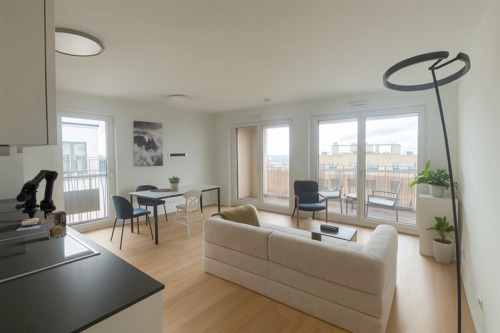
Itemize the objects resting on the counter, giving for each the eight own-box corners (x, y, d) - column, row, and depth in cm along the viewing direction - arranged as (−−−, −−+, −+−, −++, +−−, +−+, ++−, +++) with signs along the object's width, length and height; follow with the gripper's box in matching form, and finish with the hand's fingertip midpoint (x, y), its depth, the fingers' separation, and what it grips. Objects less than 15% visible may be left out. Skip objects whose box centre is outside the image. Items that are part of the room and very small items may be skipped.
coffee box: (63, 233, 162) (62, 210, 161) (66, 235, 159) (66, 212, 158) (46, 237, 155) (45, 213, 154) (49, 239, 151) (49, 214, 150)
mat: (19, 227, 171) (19, 227, 171) (41, 225, 177) (41, 225, 177) (16, 231, 164) (16, 230, 164) (38, 228, 171) (38, 228, 171)
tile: (24, 221, 174) (23, 219, 174) (38, 220, 178) (38, 218, 178) (21, 225, 169) (21, 222, 169) (36, 223, 173) (36, 221, 173)
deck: (24, 222, 182) (24, 219, 182) (44, 221, 188) (44, 217, 188) (19, 227, 171) (19, 223, 171) (41, 225, 177) (41, 221, 177)
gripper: (20, 197, 179) (20, 218, 180) (12, 202, 164) (12, 224, 164) (39, 196, 185) (39, 216, 186) (33, 201, 170) (33, 222, 170)
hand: (31, 219), depth 177 cm, fingers closed
